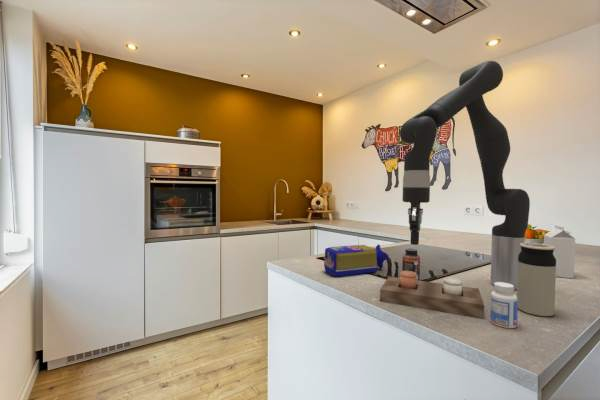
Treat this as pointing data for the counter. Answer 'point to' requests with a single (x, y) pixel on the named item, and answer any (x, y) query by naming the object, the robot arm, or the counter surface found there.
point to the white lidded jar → (452, 286)
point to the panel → (433, 297)
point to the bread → (353, 260)
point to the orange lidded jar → (408, 279)
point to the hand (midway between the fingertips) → (414, 244)
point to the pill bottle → (504, 305)
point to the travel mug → (536, 279)
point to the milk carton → (562, 251)
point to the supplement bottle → (411, 262)
